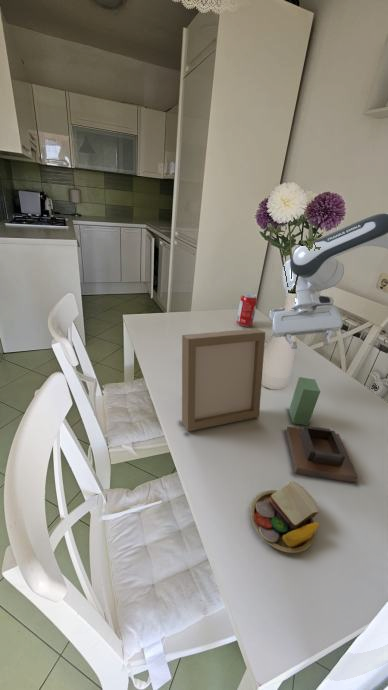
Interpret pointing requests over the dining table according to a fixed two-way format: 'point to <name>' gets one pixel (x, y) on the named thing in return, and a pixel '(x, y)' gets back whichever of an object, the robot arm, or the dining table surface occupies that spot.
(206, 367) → the photo frame
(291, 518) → the toy sandwich meal
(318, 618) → the dining table surface
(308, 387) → the back pad
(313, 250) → the robot arm
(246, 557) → the dining table surface
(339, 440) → the base
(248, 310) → the soda can
